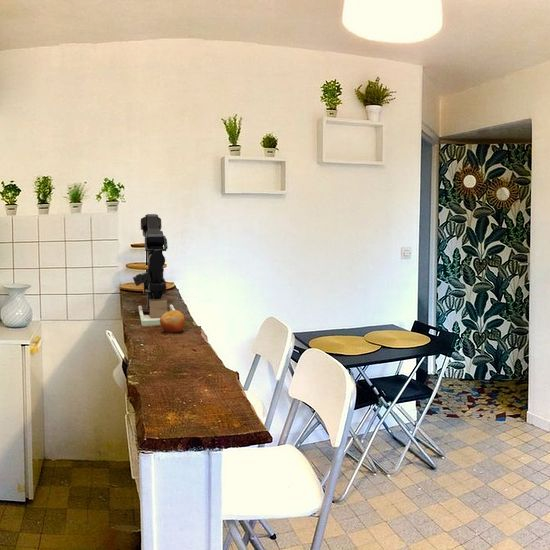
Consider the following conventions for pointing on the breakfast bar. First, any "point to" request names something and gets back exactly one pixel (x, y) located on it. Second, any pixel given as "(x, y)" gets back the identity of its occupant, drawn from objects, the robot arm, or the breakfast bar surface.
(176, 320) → the fruit
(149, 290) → the robot arm
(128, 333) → the breakfast bar surface
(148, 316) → the trap channel
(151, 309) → the walnut block
